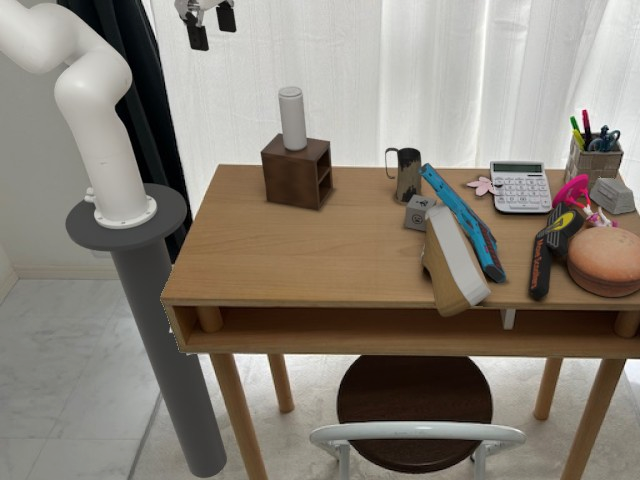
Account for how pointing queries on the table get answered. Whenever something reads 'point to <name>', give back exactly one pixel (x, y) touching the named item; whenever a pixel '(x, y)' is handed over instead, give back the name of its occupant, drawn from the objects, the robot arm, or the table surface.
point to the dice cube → (418, 211)
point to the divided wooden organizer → (297, 173)
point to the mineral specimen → (613, 195)
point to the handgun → (468, 223)
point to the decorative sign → (552, 245)
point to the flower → (482, 186)
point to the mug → (407, 174)
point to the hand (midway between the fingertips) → (214, 40)
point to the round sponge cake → (605, 261)
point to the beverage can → (292, 118)
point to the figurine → (572, 194)
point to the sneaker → (451, 263)
